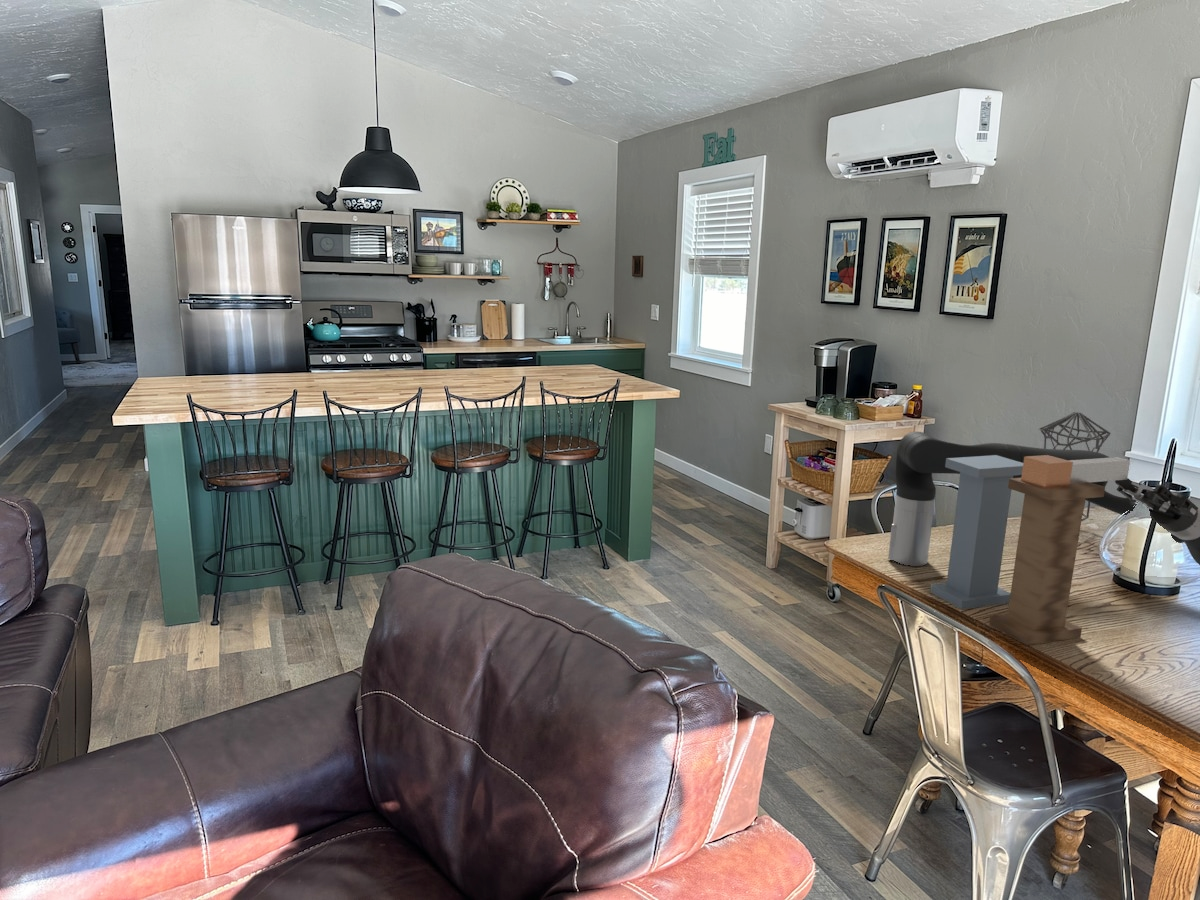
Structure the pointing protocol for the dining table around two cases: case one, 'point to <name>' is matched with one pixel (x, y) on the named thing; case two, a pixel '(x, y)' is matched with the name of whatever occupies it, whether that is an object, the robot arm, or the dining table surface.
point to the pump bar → (1072, 470)
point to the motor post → (978, 531)
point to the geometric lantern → (1085, 422)
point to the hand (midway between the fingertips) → (1137, 483)
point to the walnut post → (1045, 562)
